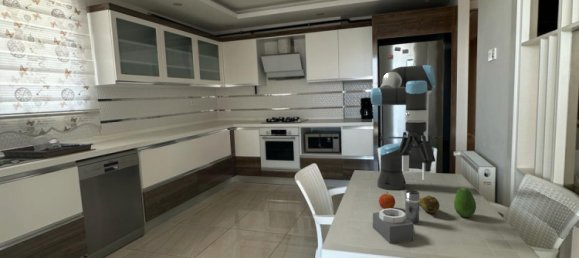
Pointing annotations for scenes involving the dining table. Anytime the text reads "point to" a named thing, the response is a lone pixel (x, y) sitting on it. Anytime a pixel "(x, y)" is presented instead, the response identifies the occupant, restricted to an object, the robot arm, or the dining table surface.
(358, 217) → the dining table surface
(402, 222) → the grey block
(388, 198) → the fruit
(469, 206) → the fruit
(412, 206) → the lens
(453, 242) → the dining table surface
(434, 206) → the potato
